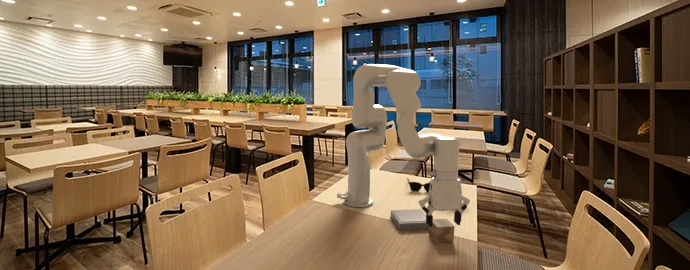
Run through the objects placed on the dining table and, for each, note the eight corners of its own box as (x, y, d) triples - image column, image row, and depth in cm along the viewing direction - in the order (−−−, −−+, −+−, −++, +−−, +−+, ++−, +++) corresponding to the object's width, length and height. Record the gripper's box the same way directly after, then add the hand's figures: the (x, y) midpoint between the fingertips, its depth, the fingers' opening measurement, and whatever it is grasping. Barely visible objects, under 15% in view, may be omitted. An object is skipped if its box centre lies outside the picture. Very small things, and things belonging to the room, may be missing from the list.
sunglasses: (408, 191, 159) (408, 181, 158) (406, 183, 174) (406, 174, 174) (437, 193, 157) (437, 183, 156) (432, 185, 173) (432, 175, 172)
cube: (435, 244, 107) (437, 227, 106) (429, 235, 113) (430, 219, 112) (453, 243, 108) (454, 226, 107) (445, 234, 114) (446, 218, 113)
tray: (399, 230, 117) (399, 223, 116) (390, 216, 129) (390, 209, 128) (431, 228, 119) (432, 221, 118) (419, 215, 130) (420, 208, 130)
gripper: (424, 179, 102) (422, 230, 105) (476, 176, 104) (473, 227, 107) (416, 172, 109) (414, 221, 112) (464, 170, 112) (462, 218, 114)
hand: (443, 224), depth 109 cm, fingers open, 9 cm apart
